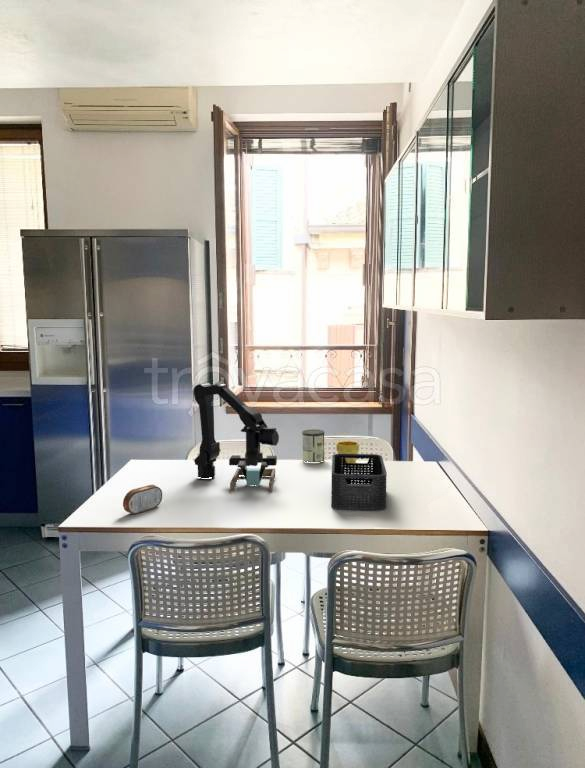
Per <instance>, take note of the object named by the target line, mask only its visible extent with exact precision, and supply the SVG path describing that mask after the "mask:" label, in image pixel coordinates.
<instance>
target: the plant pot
mask: <svg viewBox="0 0 585 768" xmlns="http://www.w3.org/2000/svg"><path fill="white" fill-rule="evenodd" d="M335 445H336V446H335V447H336V452H337V454H359V453H358V452H359V451H360V443H359V442H357V441H355V440H353V441H351V440H343V441H338V442H336V444H335ZM345 460H346V462H347V463H357V458H345ZM342 461H343V460H342Z"/></svg>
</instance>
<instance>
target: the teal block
mask: <svg viewBox="0 0 585 768" xmlns="http://www.w3.org/2000/svg"><path fill="white" fill-rule="evenodd" d="M260 469H261V467H248V469H247V471H246V474H247V481H246V486H247V485H254V486H253V487H260V485H261V482H260ZM259 484H260V485H259ZM255 485H256V486H255Z"/></svg>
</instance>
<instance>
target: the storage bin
mask: <svg viewBox="0 0 585 768" xmlns="http://www.w3.org/2000/svg"><path fill="white" fill-rule="evenodd" d="M331 457H332V458H331V497H330V499H331V500H330V501H331V502H330V506H331V508H333V509H335V510H337V511H338V510H340V511H373V512H374V511H375V512H376V511H378V512H380V511H384V510H386V509H387V476H388V475H387V474H388V473H387V469H386V466H385V462H384V459H383V456H382V455H381V454H373V453H371V454H370V453H367V454H366V453H357V454H338V453H334V454H333V455H332V456H331ZM345 458H356V459H368V460H367V462H356V463H347V462H346V460H345ZM342 460H343V461H342ZM345 465H346V466H345Z"/></svg>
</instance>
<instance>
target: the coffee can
mask: <svg viewBox="0 0 585 768" xmlns="http://www.w3.org/2000/svg"><path fill="white" fill-rule="evenodd" d="M301 433H302V462H303V461H305V462H307V461H308V462H321V461H324V462H325V430H322V429H315V428H314V429H306V430H305V429H304V430H303V431H302V432H301Z"/></svg>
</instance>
